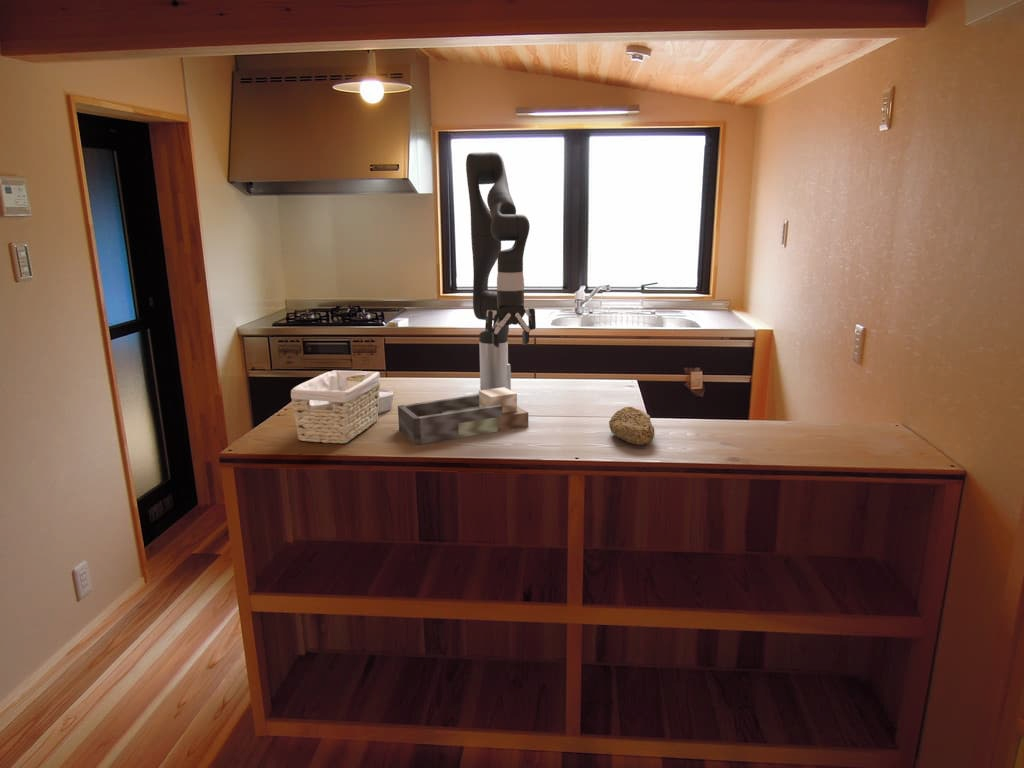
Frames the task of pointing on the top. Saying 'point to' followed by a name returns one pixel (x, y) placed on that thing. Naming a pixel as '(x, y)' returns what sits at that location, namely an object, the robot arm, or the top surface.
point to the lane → (455, 419)
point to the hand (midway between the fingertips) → (510, 345)
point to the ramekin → (385, 400)
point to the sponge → (632, 426)
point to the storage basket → (336, 406)
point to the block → (498, 399)
